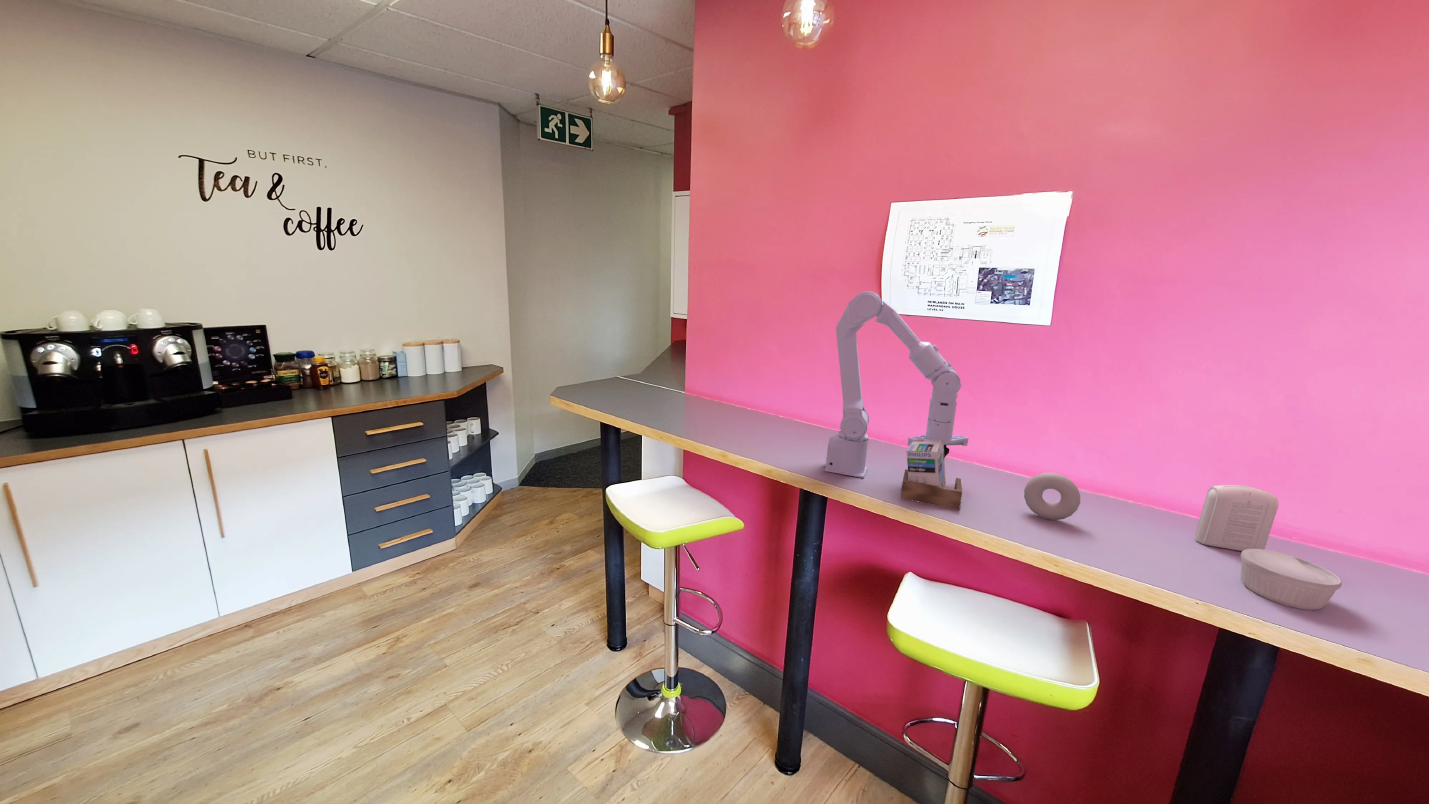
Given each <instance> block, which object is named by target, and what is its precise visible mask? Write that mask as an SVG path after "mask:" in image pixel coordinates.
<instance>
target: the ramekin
mask: <svg viewBox="0 0 1429 804" xmlns="http://www.w3.org/2000/svg"><path fill="white" fill-rule="evenodd" d="M1240 559H1241V569H1240V579H1241V581H1242V582H1243V584H1244V586H1245V587H1246V588H1247V589H1249V590H1250V591H1251V592H1253V593H1254V594H1257V595H1258V596H1261V597H1262V598H1265V599H1267V600H1270V601H1271V602H1275V603H1277V604H1281V605H1284V606H1287V607H1291V608H1294V609H1299V610H1307V611H1315V610H1319V609H1322V608H1324V607H1326V605H1327V604H1328V603H1329V601H1330V600H1331V598H1333V596H1334V594H1335V593H1336V591H1338V590H1340V588H1341V587H1342V585H1343V581H1342V580H1341V578H1340V577H1339V576H1338V575H1336V574H1335V573H1333V572H1332V571H1331V570H1329V569H1328V568H1325V567H1323V566H1321V565H1319V564H1316V563H1314V562H1312V561H1308V560H1306V559H1303V558H1301V557H1297V556H1294V555H1291V554H1287V553H1284V552H1279V551H1275V550H1269V549H1264V550H1263V549H1246V550H1244V551H1241V553H1240Z"/></svg>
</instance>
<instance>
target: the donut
mask: <svg viewBox="0 0 1429 804" xmlns="http://www.w3.org/2000/svg"><path fill="white" fill-rule="evenodd" d="M1049 489H1050V490H1054V491H1057V492H1058V494H1060V500H1059V501H1058V502H1056V503H1055V502H1054V503H1050V502H1047V501H1046V500H1045V499H1044V498H1043V493H1044V492H1045V491H1046V490H1049ZM1023 498H1024V500H1025V503H1026V506H1027V507H1028V508H1029V509H1030V510H1031V512H1033V513H1034V514H1035V515H1037V516H1038V517H1041V518H1043V519H1045V520H1051V521H1058V520H1064V519H1067V518H1069V517H1071V516H1073V515H1074V514H1075V513H1076V512H1077V511H1078V509H1079V507H1080V505H1081V493H1080V490H1079V488H1078V486H1077V485H1076V484H1075V482H1074V481H1072V480H1071V479H1070V478H1068V477H1067V476H1065V475H1062V474H1060V473H1058V472H1048V471H1047V472H1042V473H1039V474H1037V475H1035V476H1033V477H1031V478H1030V479H1029V480H1028V482H1026V484H1025V487H1024V490H1023Z"/></svg>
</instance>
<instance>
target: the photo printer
mask: <svg viewBox="0 0 1429 804" xmlns="http://www.w3.org/2000/svg"><path fill="white" fill-rule="evenodd" d="M1278 508H1279V499H1278V497H1277V496H1276V495H1273V494H1272V493H1271V492H1268V491H1265V490H1263V489H1260V488H1256V487H1253V486H1247V485H1239V484H1222V485H1221V484H1220V485H1212V486H1211V487H1209V489H1208V490H1207V493H1206V496H1205V499H1204V503H1203V506H1202V509H1201V512H1200V516H1199V520H1198V523H1197V527H1196V529H1195V535H1194V536H1195V537H1194V539H1195V541H1196V542H1198V543H1199V544H1202V545H1205V546H1212V547H1217V548H1222V549H1228V550H1234V551H1241V552H1242V551H1244V550H1246V549H1263V550H1266V545H1267V542H1268V539H1269V536H1270V534H1271V530H1272V528H1273V524H1274V521H1275V518H1276V515H1277V511H1278Z"/></svg>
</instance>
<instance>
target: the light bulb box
mask: <svg viewBox="0 0 1429 804" xmlns="http://www.w3.org/2000/svg"><path fill="white" fill-rule="evenodd" d="M924 440H929V439H924ZM906 461H907V462H906V463H907V470H908V481H911V482H917V483H923V484H928V485H934V486H939V487H945V488H946V484H947V483H946V482H947V481H946V468H945V467H946V466H945V458H944V442H943V440H930V441H915V442H912V443H911V445H910V446H909V445H908V448H907V450H906Z"/></svg>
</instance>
